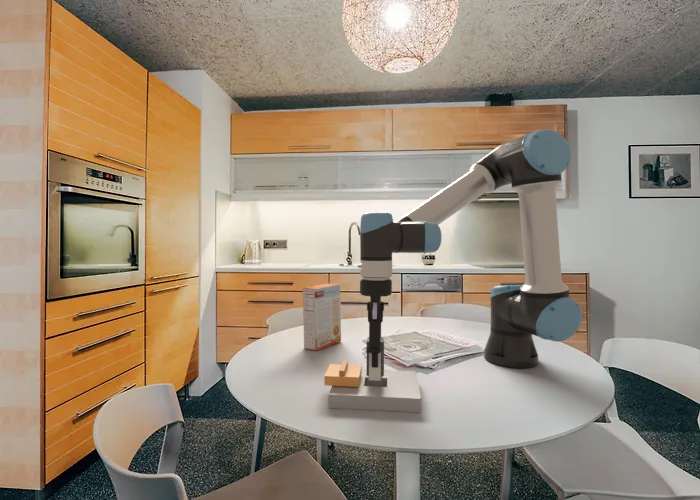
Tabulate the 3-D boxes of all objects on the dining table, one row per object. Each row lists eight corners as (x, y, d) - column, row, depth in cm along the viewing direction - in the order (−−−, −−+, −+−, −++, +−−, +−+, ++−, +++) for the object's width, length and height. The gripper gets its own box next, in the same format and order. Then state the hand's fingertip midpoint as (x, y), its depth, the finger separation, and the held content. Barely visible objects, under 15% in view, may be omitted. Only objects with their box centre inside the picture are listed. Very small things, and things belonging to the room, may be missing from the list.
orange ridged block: (361, 373, 91) (361, 360, 91) (358, 386, 83) (358, 372, 83) (330, 372, 92) (330, 359, 92) (324, 385, 84) (324, 370, 84)
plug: (384, 374, 88) (384, 337, 88) (383, 380, 84) (383, 342, 84) (367, 373, 89) (367, 337, 89) (366, 379, 85) (366, 341, 85)
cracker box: (328, 339, 134) (328, 282, 134) (341, 341, 131) (341, 283, 130) (302, 348, 123) (302, 286, 122) (315, 351, 119) (315, 288, 119)
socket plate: (415, 382, 94) (415, 371, 94) (421, 412, 78) (421, 398, 78) (339, 379, 96) (338, 368, 96) (328, 407, 80) (328, 394, 80)
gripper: (362, 274, 95) (362, 363, 96) (356, 282, 78) (356, 390, 79) (391, 274, 94) (391, 364, 95) (392, 282, 77) (391, 391, 78)
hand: (375, 375), depth 87 cm, fingers closed on plug, 4 cm apart
